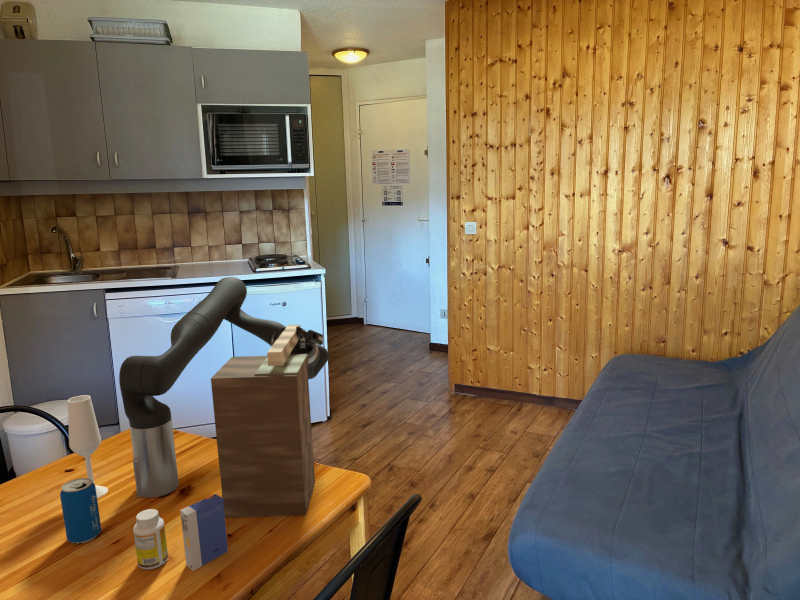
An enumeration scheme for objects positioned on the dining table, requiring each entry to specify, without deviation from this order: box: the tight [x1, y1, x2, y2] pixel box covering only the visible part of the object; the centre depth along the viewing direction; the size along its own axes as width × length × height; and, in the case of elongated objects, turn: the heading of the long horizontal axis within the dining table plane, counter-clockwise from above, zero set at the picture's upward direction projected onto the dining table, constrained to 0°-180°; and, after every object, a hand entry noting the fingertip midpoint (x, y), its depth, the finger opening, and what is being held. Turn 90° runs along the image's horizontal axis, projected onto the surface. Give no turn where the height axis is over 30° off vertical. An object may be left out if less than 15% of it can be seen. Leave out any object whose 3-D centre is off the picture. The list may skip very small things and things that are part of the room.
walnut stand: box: [210, 354, 316, 519], centre depth 135 cm, size 16×18×32 cm
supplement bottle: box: [132, 508, 169, 570], centre depth 115 cm, size 6×6×10 cm
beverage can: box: [59, 477, 102, 545], centre depth 124 cm, size 6×6×12 cm
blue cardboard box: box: [179, 493, 229, 572], centre depth 115 cm, size 8×3×12 cm, turn 139°
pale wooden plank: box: [266, 324, 301, 366], centre depth 136 cm, size 24×3×3 cm, turn 0°
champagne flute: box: [67, 394, 109, 499], centre depth 141 cm, size 7×7×24 cm
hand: (290, 330), depth 142 cm, fingers closed on pale wooden plank, 3 cm apart
